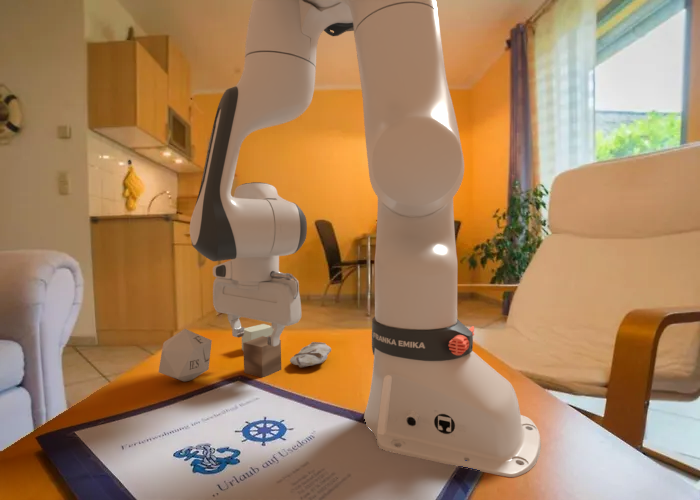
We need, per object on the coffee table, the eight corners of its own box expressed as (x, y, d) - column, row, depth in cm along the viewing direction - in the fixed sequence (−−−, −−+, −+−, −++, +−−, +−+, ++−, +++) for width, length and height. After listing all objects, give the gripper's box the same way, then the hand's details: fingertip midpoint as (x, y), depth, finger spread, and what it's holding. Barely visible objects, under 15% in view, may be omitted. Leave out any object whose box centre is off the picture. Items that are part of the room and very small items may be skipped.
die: (194, 395, 61) (192, 336, 60) (148, 391, 63) (145, 334, 62) (221, 375, 69) (220, 323, 69) (180, 372, 71) (178, 321, 70)
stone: (322, 372, 70) (321, 359, 69) (286, 370, 71) (285, 357, 71) (333, 352, 79) (333, 340, 79) (301, 351, 80) (301, 339, 80)
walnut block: (281, 369, 72) (280, 339, 71) (262, 378, 67) (261, 347, 67) (263, 364, 74) (262, 336, 74) (244, 373, 70) (243, 342, 70)
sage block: (273, 347, 85) (273, 326, 85) (251, 354, 81) (250, 332, 81) (264, 344, 88) (263, 323, 88) (241, 350, 84) (241, 329, 83)
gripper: (309, 272, 67) (308, 346, 68) (232, 264, 77) (232, 328, 78) (286, 276, 61) (285, 356, 62) (206, 267, 72) (207, 335, 73)
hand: (255, 340), depth 70 cm, fingers open, 8 cm apart
